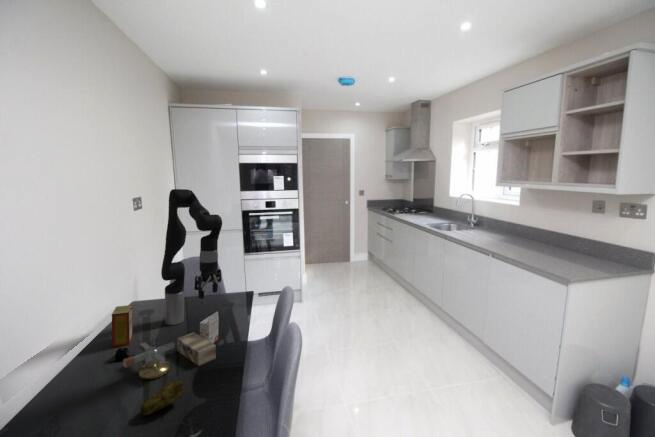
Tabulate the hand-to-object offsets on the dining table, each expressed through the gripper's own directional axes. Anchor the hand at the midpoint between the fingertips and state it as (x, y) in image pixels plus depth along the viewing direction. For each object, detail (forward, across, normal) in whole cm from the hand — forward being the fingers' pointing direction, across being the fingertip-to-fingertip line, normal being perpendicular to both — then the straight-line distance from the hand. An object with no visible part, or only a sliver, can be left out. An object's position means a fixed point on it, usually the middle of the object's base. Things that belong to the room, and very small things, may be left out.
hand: (208, 295), depth 134 cm
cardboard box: (+28, +3, -4) cm, 28 cm away
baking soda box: (+28, +7, -43) cm, 52 cm away
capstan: (+28, +18, -12) cm, 35 cm away
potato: (+28, +33, +10) cm, 44 cm away
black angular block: (+28, +18, -30) cm, 45 cm away
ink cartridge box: (+28, -8, -6) cm, 29 cm away
